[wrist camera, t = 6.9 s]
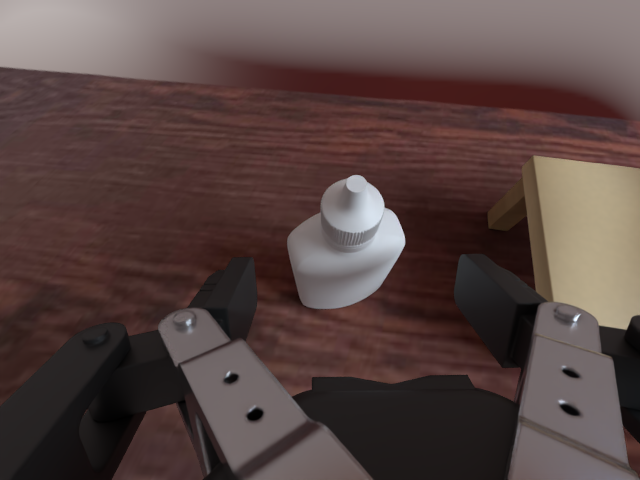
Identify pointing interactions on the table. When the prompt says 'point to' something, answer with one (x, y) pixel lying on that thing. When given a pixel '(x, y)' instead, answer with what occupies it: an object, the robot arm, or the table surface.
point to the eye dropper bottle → (345, 246)
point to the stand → (580, 234)
